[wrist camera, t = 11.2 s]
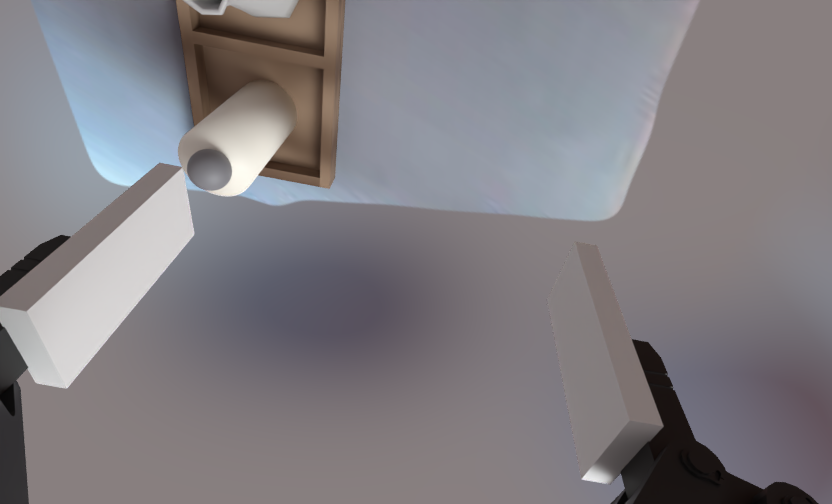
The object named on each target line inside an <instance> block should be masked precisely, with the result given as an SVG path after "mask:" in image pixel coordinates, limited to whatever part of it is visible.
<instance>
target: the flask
mask: <svg viewBox="0 0 832 504" xmlns="http://www.w3.org/2000/svg"><path fill="white" fill-rule="evenodd" d="M183 1H184V2H185V3H187V4H188V5H189V6H191V7H192V8H194V9H195V10H196V11H198V12H199V13H200V14H202V15H223V14H224V12H225V9H226V7H227V6H229V5H230V6H233V7H235V8H237V9H240V10H242V11H244V12H246V13H248V14H250V15H252V16H254V17H266V18H290V16H291V14H292V12H293V10H294V8H295V6H296V5H297V3H298V1H299V0H183Z"/></svg>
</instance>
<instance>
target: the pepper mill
mask: <svg viewBox="0 0 832 504" xmlns="http://www.w3.org/2000/svg"><path fill="white" fill-rule="evenodd" d="M296 122H297V109H296V106H295V103H294V101H293V99H292V98H291V96H290V95H289V94H288V93H287V92H286V90H284V89H283V88H282V87H281V86H279V85H277V84H276V83H273V82H271V81H267V80H254V81H251V82H249V83H247V84H246V85H245V86H244V87H242V88H241V89H240V90H239V91H237V92H236V93H235V94H234V95H233V96H231V97H230V98H229V99H228V100H226V101H225V102H224V103H223V104H222V105H220V106H219V107H218V108H217V109H215V110H214V111H213V112H212V113H211V114H209V115H208V116H207V117H206V118H204V119H203V120H202V121H201V122H199V123H198V124H197V125H196V126H195V127H193V128H192V129H191V130H190V131H188V132H187V133H186V134H185V135H184V136H183V137H182V139H181V141H180V143H179V147H178V156H179V160H180V163H181V166H182V167H183V170H184V171H185V173H186V174H187V175H188V177H189V178H190V180H191V181H192V182H193V183H194V184H195V185H196V186H197V187H199V188H201V189H203V190H206V191H208V192H210V193H212V194H215V195H220V196H235V195H238V194H241V193H242V192H244V191H245V190H246V189H247V188H248V187H249V186H250V185H251V183H252V182H253V181H254V180H255V178H256V177H257V176H258V174H259V173H260V172H261V170H262V169H263V168H264V167H265V165H266V164H267V163H268V161H269V160H270V159H271V158H272V156H273V155H274V154H275V152H276V151H277V150H278V149H279V147H280V146H281V145H282V143H283V142H284V141H285V140H286V138H287V137H288V136H289V134H290V133H291V132H292V131H293V129H294V127H295V125H296Z"/></svg>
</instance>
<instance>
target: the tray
mask: <svg viewBox="0 0 832 504" xmlns="http://www.w3.org/2000/svg"><path fill="white" fill-rule="evenodd" d="M176 5H177V12H178V19H179V25H180V32H181V39H182V46H183V53H184V59H185V66H186V73H187V80H188V87H189V94H190V100H191V107H192V114H193V121H194V127H195V126H196V125H197V124H198V123H199V122H201V121H202V120H203V119H204V118H206V117H207V116H208V115H209V114H211V113H212V112H213V111H214V110H215V109H217V108H218V107H219V106H220V105H222V104H223V103H224V102H225V101H226V100H228V99H229V98H230V97H231V96H233V95H234V94H235V93H236V92H237V91H239V90H240V89H241V88H242V87H244V86H245V85H246V84H247V83H249V82H251V81H254V80H267V81H271V82H273V83H276V84H277V85H279V86H281V87H282V88H283V89H284V90H286V92H287V93H288V94H289V95H290V96H291V98H292V99H293V101H294V103H295V106H296V109H297V122H296V125H295V127H294V129H293V131H292V132H291V133H290V134H289V136H288V137H287V138H286V140H285V141H284V142H283V143H282V145H281V146H280V147H279V149H278V150H277V151H276V152H275V154H274V155H273V156H272V158H271V159H270V160H269V161H268V163H267V164H266V165H265V167H264V168H263V169H262V170H261V172H260V173H259V174H258V175H260V176H265V177H270V178H276V179H281V180H286V181H292V182H297V183H302V184H307V185H313V186H318V187H323V188H328V189H330V187H331V185H332V183H333V180H334V178H335V167H336V150H337V133H338V116H339V98H340V81H341V64H342V47H343V30H344V13H345V0H299V1H298V3H297V5H296V6H295V8H294V10H293V12H292V14H291V16H290V18H266V17H254V16H252V15H250V14H248V13H246V12H244V11H242V10H240V9H237V8H235V7H233V6H230V5H229V6H227V7H226V9H225V12H224V14H223V15H202V14H200V13H199V12H198V11H196V10H195V9H194V8H192V7H191V6H189V5H188V4H187V3H185V2H184V1H183V0H176Z"/></svg>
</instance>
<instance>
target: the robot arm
mask: <svg viewBox="0 0 832 504" xmlns="http://www.w3.org/2000/svg"><path fill="white" fill-rule="evenodd" d="M193 236H194V229H193V223H192V218H191V212H190V206H189V200H188V195H187V188H186V183H185V177H184V171H183V167H179V166H174V165H169V164H163V163H159V164H157V165H156V166H155V167H154V168H153V169H151V170H150V171H149V172H148V173H147V174H145V175H144V176H143V177H142V178H141V179H140V180H138V181H137V182H136V183H135V184H134V185H132V186H131V187H130V188H129V189H128V190H126V191H125V192H124V193H123V194H122V195H120V196H119V197H118V198H117V199H116V200H115V201H113V202H112V203H111V204H110V205H109V206H107V207H106V208H105V209H104V210H103V211H102V212H100V213H99V214H98V215H97V216H95V217H94V218H93V219H92V220H91V221H90V222H88V223H87V224H86V225H85V226H84V227H82V228H81V229H80V230H79V231H78V232H76V233H75V234H74V235H73V236H72V237H70V236H64V235H60V236H58V237H55V238H53V239H51V240H49V241H47V242H45V243H42V244H40V245H39V246H38V247H36V248H35V249H34V250H32V251H31V252H30V253H29V254H27V255H26V256H25V257H24V260H20V261H19V262H18V263H16V264H15V265H14V266H13V267H11V270H7V271H6V272H5V273H4V274H2V275H1V276H0V504H29V502H28V486H27V473H26V459H25V445H24V431H23V417H22V404H21V390H20V387H19V385H18V382H17V381H16V380H17V379H18V378H19V377H20V376H21V374H23V372H24V371H25V370H26V369H28V370H29V372H30V374H31V375H32V377H33V379H34V381H35V382H36V383H38V384H44V385H50V386H55V387H61V388H68V387H69V385H70V384H71V383H72V382H73V380H74V379H75V378H76V377H77V376H78V375H79V373H80V372H81V371H82V370H83V368H84V367H85V366H86V365H87V363H88V362H89V361H90V360H91V359H92V358H93V356H94V355H95V354H96V353H97V352H98V350H99V349H100V348H101V347H102V346H103V344H104V343H105V342H106V340H107V339H108V338H109V337H110V336H111V335H112V333H113V332H114V331H115V330H116V328H117V327H118V326H119V325H120V324H121V323H122V321H123V320H124V319H125V318H126V317H127V315H128V314H129V313H130V312H131V310H132V309H133V308H134V307H135V306H136V305H137V303H138V302H139V301H140V300H141V298H142V297H143V296H144V295H145V294H146V292H147V291H148V290H149V289H150V288H151V286H152V285H153V284H154V283H155V282H156V280H157V279H158V278H159V277H160V276H161V274H162V273H163V272H164V271H165V270H166V268H167V267H168V266H169V265H170V263H171V262H172V261H173V260H174V259H175V257H176V256H177V255H178V254H179V253H180V251H181V250H182V249H183V248H184V246H185V245H186V244H187V243H188V242H189V240H190V239H191V238H192V237H193ZM547 304H548V309H549V314H550V319H551V324H552V329H553V334H554V340H555V345H556V350H557V355H558V361H559V365H560V371H561V376H562V381H563V386H564V392H565V397H566V402H567V407H568V413H569V418H570V423H571V428H572V433H573V438H574V444H575V449H576V454H577V459H578V464H579V470H580V475H581V479H583V480H589V481H594V482H600V483H606V484H611V483H612V482H613V481H614V480H615V479H616V478H617V477H618V476H619V475H620V474H621V475H622V479H623V483H624V487H625V489H624V491H622V493H621V494H620V495H619V496H618V497H617V498H616V499H615V500H614V501H613V502H612V503H611V504H818V503H817V502H816V501H815V500H814V499H813V498H812V497H811V496H809V495H808V494H807V493H805V492H804V491H802V490H801V489H799V488H798V487H796V486H793V485H791V484H788V483H785V482H774V483H773V484H771V485H769V486H768V487H767V488H765V489H761V488H759V487H757V486H755V485H753V484H751V483H749V482H747V481H744V480H742V479H740V478H738V477H736V476H734V475H732V474H730V473H728V472H727V471H726V470H725V467H724V466H723V464H722V463H721V462H720V460H719V459H718V457H717V456H716V455H715V454H714V453H713V452H712V451H710V450H709V449H708V448H707V447H706V446H704V445H702V444H701V443H699V442H697V441H696V440H695V438H694V435H693V433H692V430H691V428H690V426H689V423H688V421H687V419H686V416H685V414H684V411H683V409H682V407H681V405H680V402H679V400H678V397H677V395H676V392H675V391H674V390H673V385H672V383H671V380H670V378H669V377H667V375H668V373H667V371H666V368H665V366H664V364H663V361H662V359H661V357H660V356H659V355H658V354H657V352H656V351H655V350H654V349H653V348H652V346H651V345H650V344H649V343H648V342H644V341H638V340H633V339H631V337H630V334H629V331H628V328H627V326H626V323H625V320H624V318H623V315H622V312H621V310H620V307H619V304H618V301H617V299H616V296H615V293H614V291H613V288H612V285H611V282H610V280H609V277H608V274H607V271H606V269H605V266H604V263H603V261H602V258H601V255H600V253H599V250H598V247H597V246H596V245H590V244H585V243H580V242H574V244H573V246H572V248H571V250H570V253H569V254H568V257H567V259H566V261H565V263H564V265H563V267H562V269H561V271H560V274H559V276H558V278H557V280H556V282H555V284H554V286H553V288H552V290H551V293H550V295H549V297H548V299H547Z"/></svg>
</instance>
